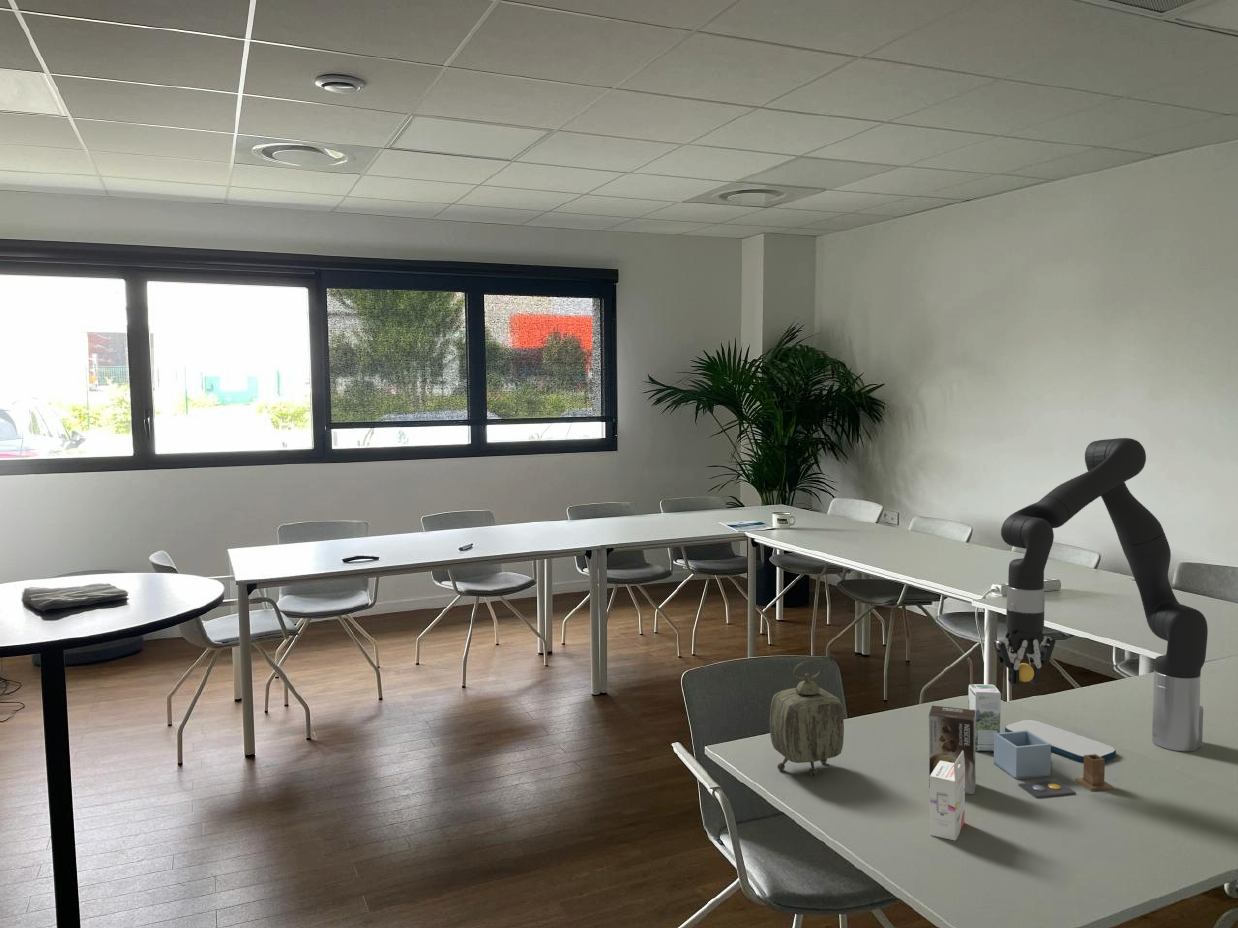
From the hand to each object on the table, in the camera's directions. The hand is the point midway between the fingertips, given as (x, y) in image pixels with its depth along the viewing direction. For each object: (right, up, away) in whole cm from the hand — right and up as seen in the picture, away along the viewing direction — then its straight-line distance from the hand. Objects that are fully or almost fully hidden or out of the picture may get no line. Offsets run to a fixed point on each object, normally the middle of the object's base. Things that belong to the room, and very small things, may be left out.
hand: (1023, 684), depth 194 cm
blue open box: (0, -19, +2) cm, 19 cm away
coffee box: (-18, -20, -5) cm, 28 cm away
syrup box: (-3, -19, +14) cm, 24 cm away
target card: (+1, -20, -8) cm, 22 cm away
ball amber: (0, +3, 0) cm, 3 cm away
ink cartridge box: (-26, -22, -24) cm, 41 cm away
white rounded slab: (+15, -19, +15) cm, 29 cm away
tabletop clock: (-47, -20, +3) cm, 51 cm away
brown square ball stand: (+12, -20, -6) cm, 24 cm away
